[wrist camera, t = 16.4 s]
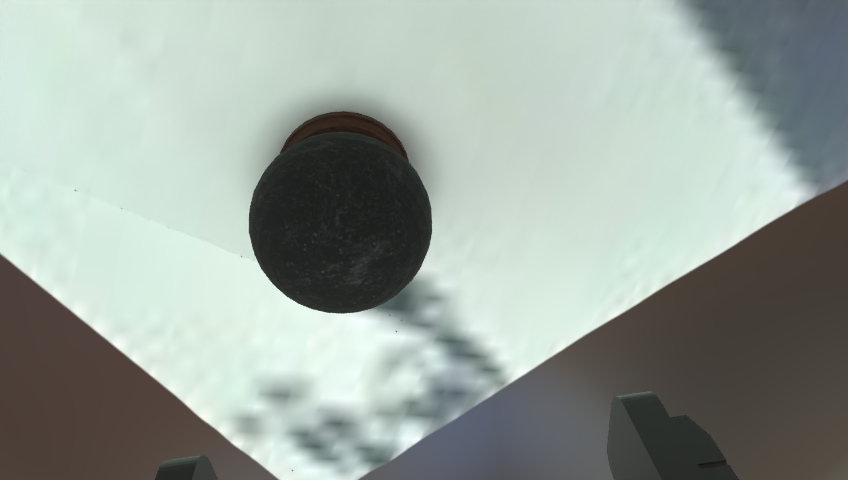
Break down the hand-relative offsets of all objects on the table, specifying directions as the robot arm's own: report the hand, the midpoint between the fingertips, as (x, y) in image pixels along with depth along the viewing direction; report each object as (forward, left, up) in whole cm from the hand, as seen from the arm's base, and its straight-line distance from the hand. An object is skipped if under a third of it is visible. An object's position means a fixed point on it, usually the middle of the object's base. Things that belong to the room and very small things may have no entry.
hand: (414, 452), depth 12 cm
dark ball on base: (+4, +11, -38) cm, 40 cm away
